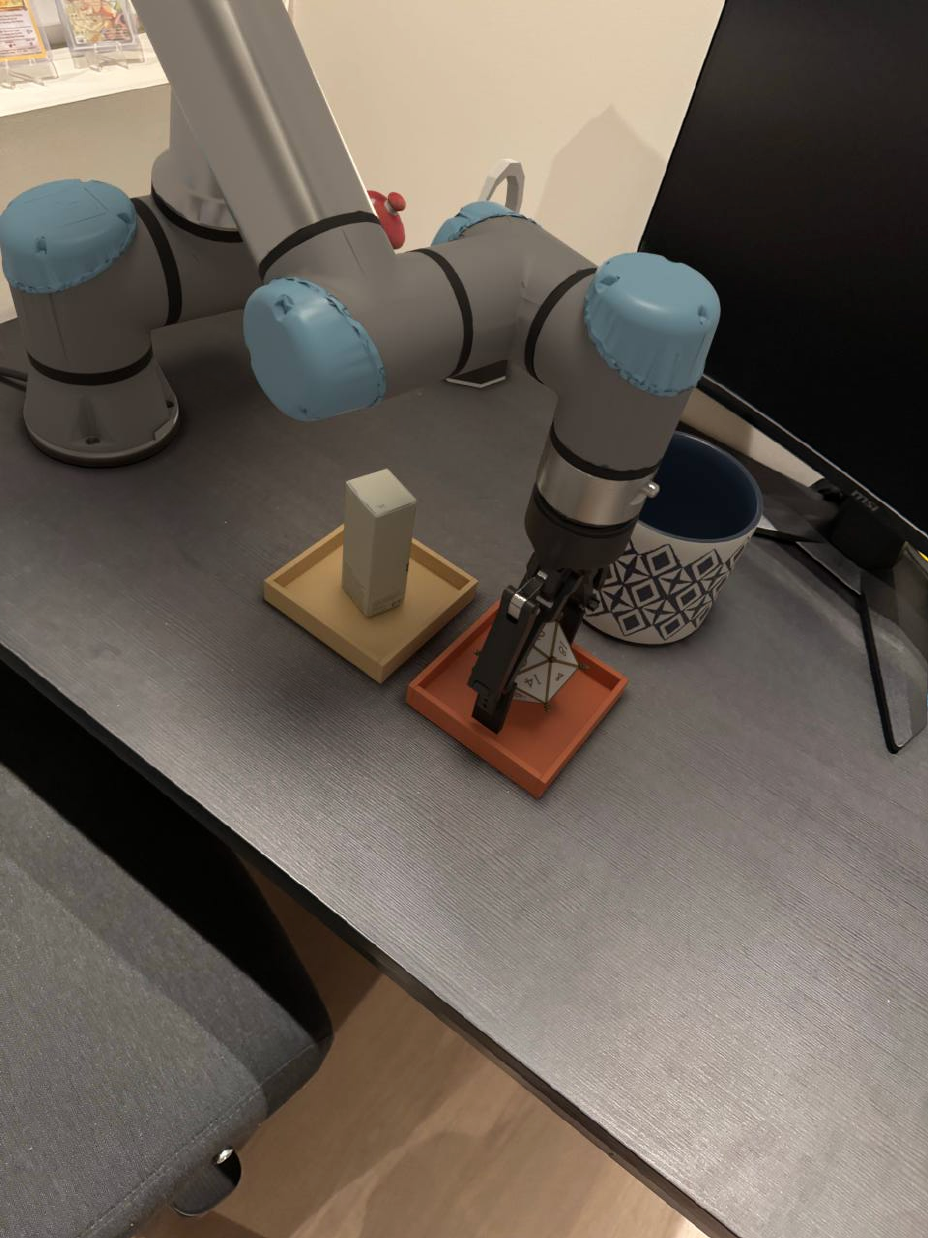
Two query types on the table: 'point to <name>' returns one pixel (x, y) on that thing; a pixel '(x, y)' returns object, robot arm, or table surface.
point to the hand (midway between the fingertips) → (520, 686)
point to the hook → (513, 202)
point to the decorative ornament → (390, 215)
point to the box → (377, 541)
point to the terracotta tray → (516, 711)
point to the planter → (680, 545)
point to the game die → (546, 666)
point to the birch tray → (337, 621)
